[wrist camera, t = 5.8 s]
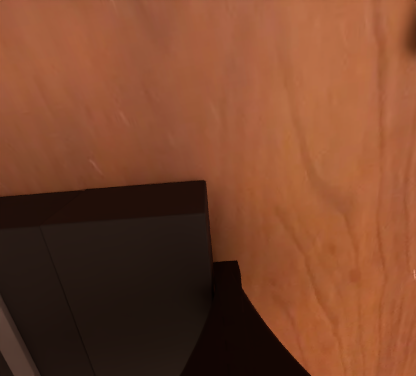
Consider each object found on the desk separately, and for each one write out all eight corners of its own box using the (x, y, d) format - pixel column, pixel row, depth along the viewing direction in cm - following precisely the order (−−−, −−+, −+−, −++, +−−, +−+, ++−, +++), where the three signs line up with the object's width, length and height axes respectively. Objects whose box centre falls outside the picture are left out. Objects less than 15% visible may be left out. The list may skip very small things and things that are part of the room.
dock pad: (123, 329, 13) (100, 399, 10) (30, 335, 13) (-21, 408, 10) (85, 189, 10) (34, 229, 7) (-34, 199, 10) (-134, 242, 7)
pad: (218, 322, 13) (221, 386, 10) (124, 328, 13) (101, 393, 10) (205, 179, 10) (205, 213, 7) (85, 188, 10) (38, 225, 7)
